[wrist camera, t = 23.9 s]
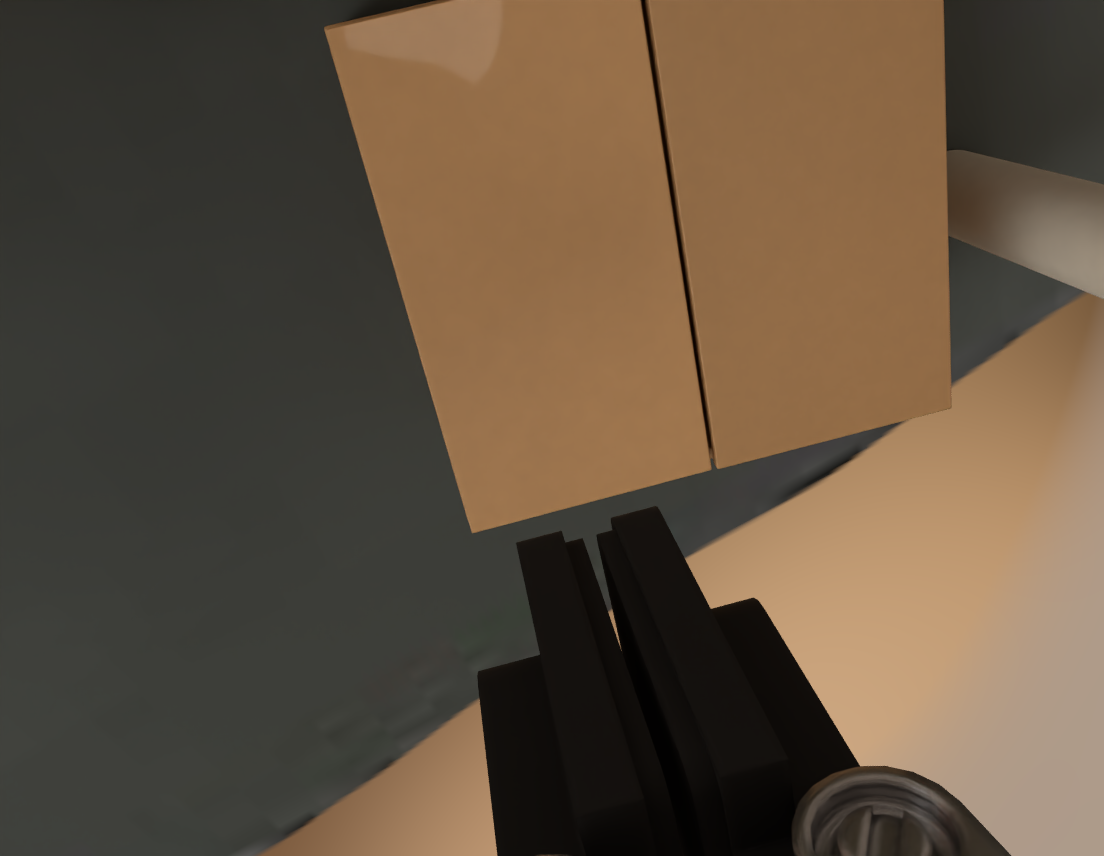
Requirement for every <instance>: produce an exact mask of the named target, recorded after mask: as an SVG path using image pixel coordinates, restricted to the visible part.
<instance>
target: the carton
mask: <svg viewBox="0 0 1104 856" xmlns="http://www.w3.org/2000/svg"><path fill="white" fill-rule="evenodd" d="M442 1H446V0H436V1H432V2H428V3H423V4H419V5H415V6H410V7H406V8H402V9H398V10H393V11H389V12H385V13H380V14H376V15H372V16H367V17H363V18H359V19H355V20H350V21H346V22H342V23H337V24H333V25H329V26H325V27H324V30H325V33H326V29H327V28H331V27H335V26H339V25H343V24H348V23H352V22H356V21H361V20H365V19H369V18H373V17H378V16H382V15H386V14H391V13H395V12H399V11H403V10H408V9H412V8H416V7H421V6H425V5H429V4H434V3H438V2H442ZM641 5H642V11H643V18H644V25H645V31H646V38H647V45H648V51H649V58H650V64H651V71H652V78H653V84H654V91H655V98H656V104H657V111H658V117H659V124H660V131H661V137H662V144H663V150H664V157H665V164H666V170H667V177H668V184H669V190H670V197H671V203H672V210H673V217H674V223H675V230H676V237H677V243H678V250H679V256H680V263H681V270H682V276H683V283H684V290H685V296H686V303H687V309H688V316H689V323H690V329H691V336H692V342H693V349H694V356H695V362H696V369H697V376H698V382H699V389H700V395H701V402H702V409H703V415H704V422H705V429H706V435H707V442H708V448H709V455H710V459H711V458H713V461H714V464H715V466H716V467H717V468H718V469H721V468H724V467H728V466H732V465H736V464H740V463H744V462H747V461H751V460H755V459H759V458H763V457H767V456H770V455H774V454H778V453H782V452H786V451H790V450H793V449H797V448H801V447H805V446H809V445H813V444H816V443H820V442H824V441H828V440H832V439H836V438H839V437H843V436H847V435H851V434H855V433H859V432H862V431H866V430H870V429H874V428H878V427H882V426H885V425H889V424H893V423H897V422H901V421H905V420H908V419H912V418H916V417H920V416H924V415H927V414H931V413H935V412H939V411H943V410H947V409H950V408H951V354H950V302H949V250H948V198H947V146H946V95H945V43H944V0H641ZM326 37H327V34H326ZM327 40H328V38H327ZM328 43H329V41H328ZM330 50H331V48H330ZM331 54H332V52H331ZM332 57H333V55H332ZM333 61H334V58H333ZM334 64H335V62H334ZM335 68H336V65H335ZM336 71H337V69H336ZM337 74H338V72H337ZM338 78H339V76H338ZM339 81H340V79H339ZM340 85H341V82H340ZM341 88H342V86H341ZM342 92H343V89H342ZM343 95H344V93H343ZM344 98H345V96H344ZM345 102H346V100H345ZM346 105H347V103H346ZM347 109H348V106H347ZM348 112H349V110H348ZM349 115H350V113H349ZM350 119H351V117H350ZM351 122H352V120H351ZM352 126H353V123H352ZM353 129H354V127H353ZM354 133H355V130H354ZM355 136H356V134H355ZM356 139H357V137H356ZM357 143H358V141H357ZM358 146H359V144H358ZM359 150H360V147H359ZM360 153H361V151H360ZM361 156H362V154H361ZM362 160H363V158H362ZM363 163H364V161H363ZM364 167H365V165H364ZM365 170H366V168H365ZM366 174H367V171H366ZM367 177H368V175H367ZM368 180H369V178H368ZM369 184H370V182H369ZM370 187H371V185H370ZM371 191H372V189H371ZM372 194H373V192H372ZM373 198H374V195H373ZM374 201H375V199H374ZM375 204H376V202H375ZM376 208H377V206H376ZM377 211H378V209H377ZM378 215H379V212H378ZM379 218H380V216H379ZM380 221H381V219H380ZM381 225H382V223H381ZM382 228H383V226H382ZM383 232H384V230H383ZM384 235H385V233H384ZM385 239H386V236H385ZM386 242H387V240H386ZM387 245H388V243H387ZM388 249H389V247H388ZM389 252H390V250H389ZM390 256H391V254H390ZM391 259H392V257H391ZM392 262H393V260H392ZM393 266H394V264H393ZM394 269H395V267H394ZM395 273H396V271H395ZM396 276H397V274H396ZM397 280H398V277H397ZM398 283H399V281H398ZM399 286H400V284H399ZM400 290H401V288H400ZM401 293H402V291H401ZM402 297H403V295H402ZM403 300H404V298H403ZM404 304H405V301H404ZM405 307H406V305H405ZM406 310H407V308H406ZM407 314H408V312H407ZM408 317H409V315H408ZM409 321H410V319H409ZM410 324H411V322H410ZM411 327H412V325H411ZM412 331H413V329H412ZM413 334H414V332H413ZM414 338H415V336H414ZM415 341H416V339H415ZM416 345H417V343H416ZM417 348H418V346H417ZM418 351H419V349H418ZM419 355H420V353H419ZM420 358H421V356H420ZM421 362H422V360H421ZM422 365H423V363H422ZM423 368H424V366H423ZM424 372H425V370H424ZM425 375H426V373H425ZM426 379H427V377H426ZM427 382H428V380H427ZM428 386H429V384H428ZM429 389H430V387H429ZM430 392H431V390H430ZM431 396H432V394H431ZM432 399H433V397H432ZM433 403H434V401H433ZM434 406H435V404H434ZM435 409H436V408H435ZM436 413H437V411H436ZM437 416H438V414H437ZM438 420H439V418H438ZM439 423H440V421H439ZM440 427H441V425H440ZM441 430H442V428H441ZM442 433H443V432H442ZM443 437H444V435H443ZM444 440H445V438H444ZM445 444H446V442H445ZM446 447H447V445H446ZM447 451H448V449H447ZM448 454H449V452H448ZM449 457H450V455H449ZM450 461H451V459H450ZM451 464H452V462H451ZM452 468H453V466H452ZM453 471H454V469H453ZM454 474H455V473H454ZM455 478H456V476H455ZM456 481H457V479H456ZM457 485H458V483H457ZM458 488H459V486H458ZM459 492H460V490H459ZM460 495H461V493H460ZM461 498H462V497H461ZM462 502H463V500H462ZM463 505H464V503H463ZM464 509H465V507H464ZM465 512H466V510H465ZM466 515H467V514H466ZM467 519H468V517H467Z"/></svg>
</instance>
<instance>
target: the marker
mask: <svg viewBox="0 0 1104 856" xmlns="http://www.w3.org/2000/svg"><path fill="white" fill-rule="evenodd" d="M947 198H948V236H951V237H953V238H955V239H958V240H960V241H963V242H965V243H968V244H970V245H973V246H975V247H978V248H980V249H982V250H985V251H987V252H990V253H992V254H995V255H997V256H1000V257H1002V258H1004V259H1007V260H1009V261H1012V262H1014V263H1017V264H1019V265H1022V266H1024V267H1027V268H1029V269H1031V270H1034V271H1036V272H1039V273H1041V274H1044V275H1046V276H1049V277H1051V278H1053V279H1056V280H1058V281H1061V282H1063V283H1066V284H1068V285H1071V286H1073V287H1076V288H1078V289H1080V290H1083V291H1085V292H1088V293H1090V294H1093V295H1095V296H1098V297H1100V298H1102V299H1104V184H1100V183H1095V182H1091V181H1087V180H1083V179H1079V178H1075V177H1071V176H1067V175H1063V174H1059V173H1055V172H1051V171H1047V170H1042V169H1038V168H1034V167H1030V166H1026V165H1022V164H1018V163H1014V162H1010V161H1006V160H1002V159H998V158H993V157H989V156H985V155H981V154H977V153H973V152H969V151H965V150H950V151H947Z"/></svg>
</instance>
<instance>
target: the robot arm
mask: <svg viewBox="0 0 1104 856" xmlns="http://www.w3.org/2000/svg"><path fill="white" fill-rule="evenodd" d="M611 524H612V531H608V532H604V533H601V534H597V541H598V546H599V551H600V555H601V560H602V564H603V569H604V573H605V578H606V582H607V587H608V591H609V596H610V600H611V605H612V609H613V614H614V618H615V623H616V627H617V632H618V636H619V640H620V645H621V648H620V645H619V643H618V640H617V637H616V634H615V631H614V628H613V625H612V622H611V619H610V616H609V613H608V611H607V608H606V605H605V602H604V599H603V596H602V593H601V590H600V587H599V584H598V582H597V579H596V576H595V573H594V570H593V567H592V564H591V561H590V558H589V555H588V552H587V550H586V547H585V544H584V541H583V539H582V538H581V539H578V540H574V541H570V542H566V543H565V541H564V537H563V534H562V532H561V531H559V532H555V533H551V534H548V535H544V536H540V537H536V538H532V539H528V540H525V541H521V542H517V543H516V544H517V549H518V554H519V558H520V563H521V568H522V572H523V577H524V582H525V586H526V591H527V595H528V600H529V605H530V609H531V614H532V619H533V623H534V628H535V632H536V637H537V642H538V646H539V651H540V655H538V656H534V657H530V658H526V659H523V660H519V661H515V662H512V663H508V664H504V665H500V666H497V667H493V668H489V669H485V670H482V671H478V689H479V697H480V706H481V715H482V724H483V732H484V741H485V750H486V759H487V768H488V776H489V784H490V794H491V803H492V811H493V820H494V829H495V838H496V847H497V855H498V856H1011V855H1010V854H1009V853H1008V852H1007V851H1006V850H1005V848H1004V847H1003V846H1002V845H1001V844H1000V843H999V842H998V841H997V840H996V839H995V838H994V837H993V836H992V835H991V834H990V833H989V831H988V830H986V828H985V827H984V826H983V825H982V824H981V823H980V822H979V821H978V820H977V819H976V818H975V817H974V816H973V814H972V813H971V812H970V811H969V810H968V809H967V808H966V807H965V806H964V805H963V804H962V803H961V802H960V801H959V800H958V799H957V798H955V797H954V796H953V795H951V794H950V793H949V792H948V791H947V790H945V789H944V788H943V787H942V786H940V785H939V784H937V783H935V782H933V781H931V780H929V779H927V778H925V777H923V776H920V775H918V774H916V773H914V772H910V771H906V770H901V769H897V768H892V767H888V766H860V765H859V764H858V762H857V760H856V759H855V757H854V755H853V754H852V752H851V751H850V749H849V747H848V746H847V744H846V742H845V741H844V739H843V737H842V736H841V734H840V733H839V731H838V729H837V728H836V726H835V725H834V723H833V721H832V719H831V718H830V716H829V714H828V713H827V711H826V710H825V708H824V706H823V705H822V703H821V701H820V700H819V698H818V696H817V695H816V693H815V691H814V690H813V688H812V686H811V685H810V683H809V681H808V680H807V678H806V677H805V675H804V673H803V672H802V670H801V668H800V667H799V665H798V663H797V662H796V660H795V658H794V657H793V655H792V654H791V652H790V650H789V649H788V647H787V645H786V644H785V642H784V640H783V639H782V637H781V635H780V634H779V632H778V630H777V629H776V627H775V626H774V624H773V622H772V621H771V619H770V617H769V616H768V614H767V612H766V611H765V609H764V608H763V606H762V605H761V604H760V602H759V601H758V600H757V599H755V598H751V599H747V600H743V601H739V602H735V603H732V604H728V605H724V606H720V607H717V608H713V609H710V607H709V605H708V603H707V601H706V599H705V597H704V595H703V593H702V591H701V590H700V587H699V585H698V584H697V582H696V580H695V578H694V576H693V574H692V572H691V570H690V568H689V566H688V564H687V562H686V560H685V558H684V556H683V555H682V553H681V551H680V549H679V547H678V545H677V543H676V541H675V539H674V537H673V535H672V533H671V531H670V529H669V528H668V526H667V524H666V522H665V520H664V518H663V516H662V514H661V512H660V510H659V509H658V507H656V506H654V507H651V508H647V509H643V510H639V511H635V512H632V513H628V514H624V515H620V516H616V517H612V518H611ZM621 650H622V651H621Z"/></svg>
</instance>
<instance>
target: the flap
mask: <svg viewBox="0 0 1104 856" xmlns="http://www.w3.org/2000/svg"><path fill="white" fill-rule="evenodd" d="M326 34H327V38H328V41H329V45H330V48H331V52H332V55H333V58H334V62H335V65H336V69H337V72H338V76H339V79H340V82H341V86H342V89H343V93H344V96H345V100H346V103H347V106H348V110H349V113H350V117H351V120H352V123H353V127H354V130H355V134H356V137H357V141H358V144H359V147H360V151H361V154H362V158H363V161H364V165H365V168H366V171H367V175H368V178H369V182H370V185H371V189H372V192H373V195H374V199H375V202H376V206H377V209H378V212H379V216H380V219H381V223H382V226H383V230H384V233H385V236H386V240H387V243H388V247H389V250H390V254H391V257H392V260H393V264H394V267H395V271H396V274H397V277H398V281H399V284H400V288H401V291H402V295H403V298H404V301H405V305H406V308H407V312H408V315H409V319H410V322H411V325H412V329H413V332H414V336H415V339H416V343H417V346H418V349H419V353H420V356H421V360H422V363H423V366H424V370H425V373H426V377H427V380H428V384H429V387H430V390H431V394H432V397H433V401H434V404H435V408H436V411H437V414H438V418H439V421H440V425H441V428H442V432H443V435H444V438H445V442H446V445H447V449H448V452H449V455H450V459H451V462H452V466H453V469H454V473H455V476H456V479H457V483H458V486H459V490H460V493H461V497H462V500H463V503H464V507H465V510H466V514H467V517H468V521H469V524H470V527H471V531H472V532H473V533H475V532H479V531H483V530H486V529H490V528H494V527H498V526H502V525H505V524H509V523H513V522H517V521H520V520H524V519H528V518H532V517H535V516H539V515H543V514H547V513H550V512H554V511H558V510H562V509H566V508H569V507H573V506H577V505H581V504H584V503H588V502H592V501H596V500H599V499H603V498H607V497H611V496H614V495H618V494H622V493H626V492H630V491H633V490H637V489H641V488H645V487H648V486H652V485H656V484H660V483H663V482H667V481H671V480H675V479H678V478H682V477H686V476H690V475H694V474H697V473H701V472H705V471H709V470H711V462H710V455H709V448H708V442H707V435H706V429H705V422H704V415H703V409H702V402H701V395H700V389H699V382H698V376H697V369H696V362H695V356H694V349H693V342H692V336H691V329H690V323H689V316H688V309H687V303H686V296H685V290H684V283H683V276H682V270H681V263H680V256H679V250H678V243H677V237H676V230H675V223H674V217H673V210H672V203H671V197H670V190H669V184H668V177H667V170H666V164H665V157H664V150H663V144H662V137H661V131H660V124H659V117H658V111H657V104H656V98H655V91H654V84H653V78H652V71H651V64H650V58H649V51H648V45H647V38H646V31H645V25H644V18H643V11H642V5H641V0H446V1H442V2H438V3H434V4H429V5H425V6H421V7H416V8H412V9H408V10H403V11H399V12H395V13H391V14H386V15H382V16H378V17H373V18H369V19H365V20H361V21H356V22H352V23H348V24H343V25H339V26H335V27H331V28H327V29H326Z"/></svg>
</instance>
